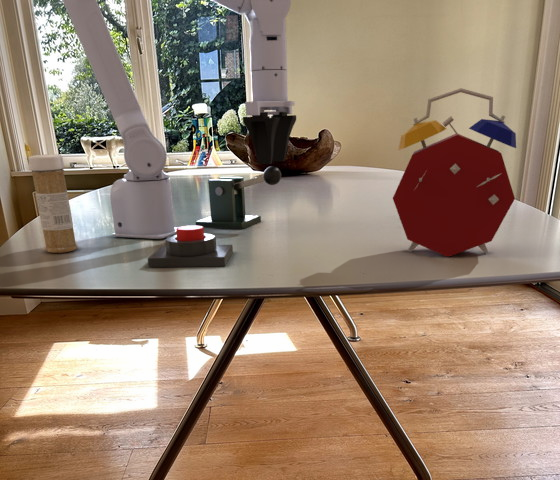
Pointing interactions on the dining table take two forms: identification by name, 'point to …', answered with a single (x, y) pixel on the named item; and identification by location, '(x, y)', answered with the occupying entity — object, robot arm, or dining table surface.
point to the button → (190, 233)
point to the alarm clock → (454, 184)
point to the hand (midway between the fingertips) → (271, 162)
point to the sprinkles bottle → (53, 202)
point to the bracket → (227, 206)
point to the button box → (191, 253)
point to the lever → (261, 179)
